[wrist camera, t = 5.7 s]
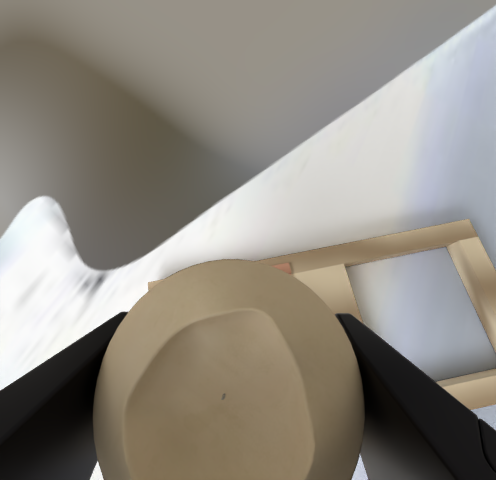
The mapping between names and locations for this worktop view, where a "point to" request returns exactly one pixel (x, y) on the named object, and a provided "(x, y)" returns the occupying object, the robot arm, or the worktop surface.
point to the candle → (229, 382)
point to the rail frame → (444, 235)
